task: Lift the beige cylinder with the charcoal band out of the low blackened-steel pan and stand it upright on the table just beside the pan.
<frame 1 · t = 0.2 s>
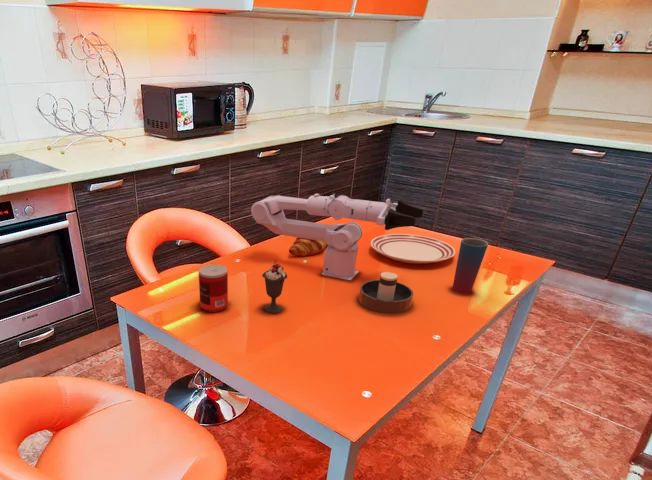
hand: (418, 217, 130), 21 cm above the table, tool horizontal, fingers open, 7 cm apart
pan: (384, 303, 134), on the table
croissant: (310, 251, 169), on the table
dinner plate: (410, 255, 165), on the table
beige cylinder: (384, 301, 133), resting on pan
canned food: (214, 306, 134), on the table
cup: (461, 291, 140), on the table
sundae: (273, 309, 132), on the table
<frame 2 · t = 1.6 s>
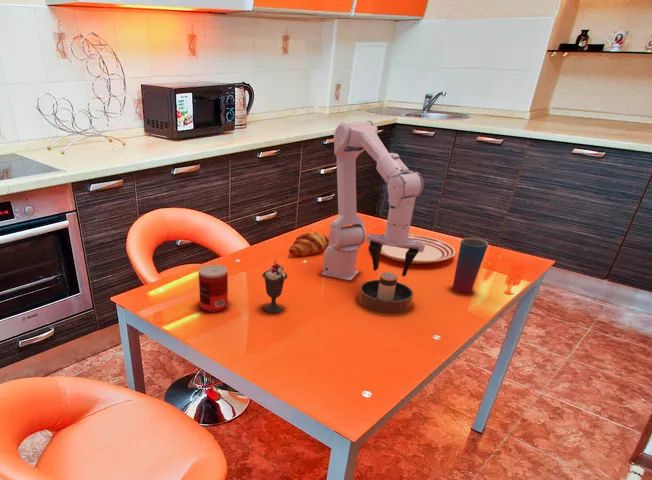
hand: (389, 272, 129), 9 cm above the table, tool pointing down, fingers open, 7 cm apart
nothing on the table moved.
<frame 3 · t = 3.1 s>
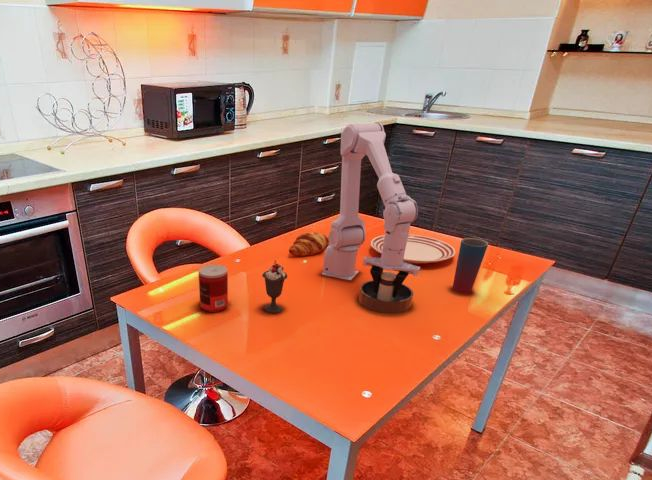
hand: (385, 293, 132), 3 cm above the table, tool pointing down, fingers closed on beige cylinder, 4 cm apart
beige cylinder: (384, 301, 133), point 1 cm above the table, touching gripper, pan
everything else where it was.
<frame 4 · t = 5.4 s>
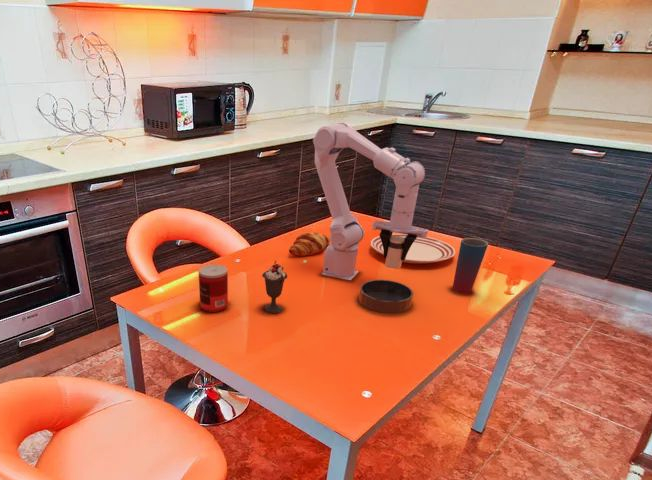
hand: (394, 257, 136), 10 cm above the table, tool pointing down, fingers closed on beige cylinder, 4 cm apart
beige cylinder: (393, 265, 138), point 7 cm above the table, touching gripper
everything else where it was.
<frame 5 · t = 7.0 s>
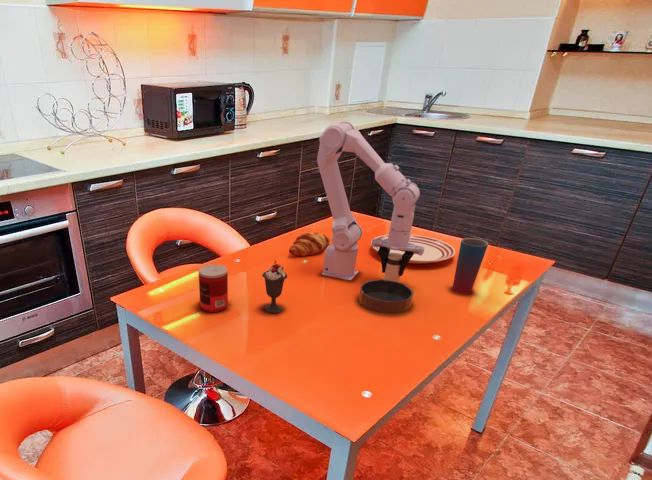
hand: (392, 273, 142), 4 cm above the table, tool pointing down, fingers closed on beige cylinder, 4 cm apart
beige cylinder: (391, 280, 143), point 1 cm above the table, touching gripper
everything else where it was.
when the fingers open (2 cm above the table, at t = 8.0 s): beige cylinder stays where it is, on the table.
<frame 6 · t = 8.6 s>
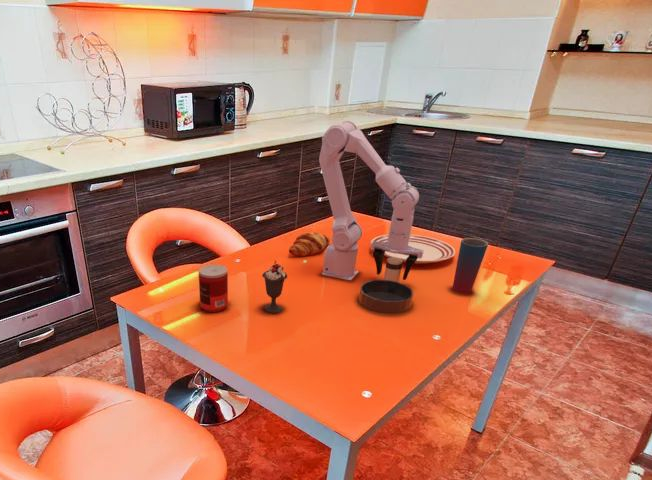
hand: (391, 276, 142), 3 cm above the table, tool pointing down, fingers open, 7 cm apart
beige cylinder: (390, 284, 144), on the table
everything else where it was.
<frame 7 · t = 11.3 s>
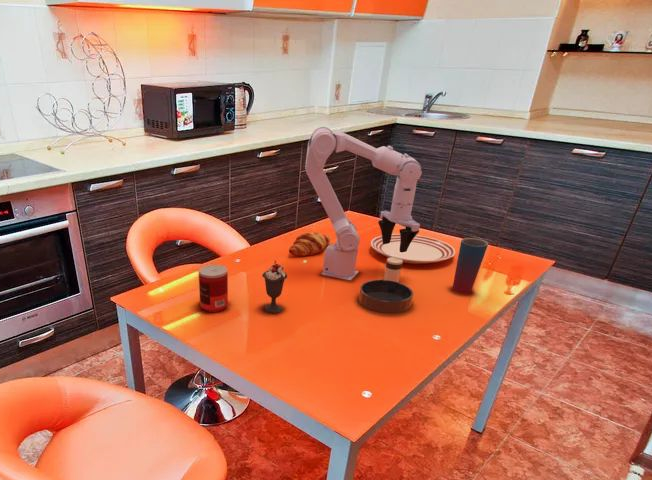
hand: (394, 247, 144), 9 cm above the table, tool pointing down, fingers open, 7 cm apart
nothing on the table moved.
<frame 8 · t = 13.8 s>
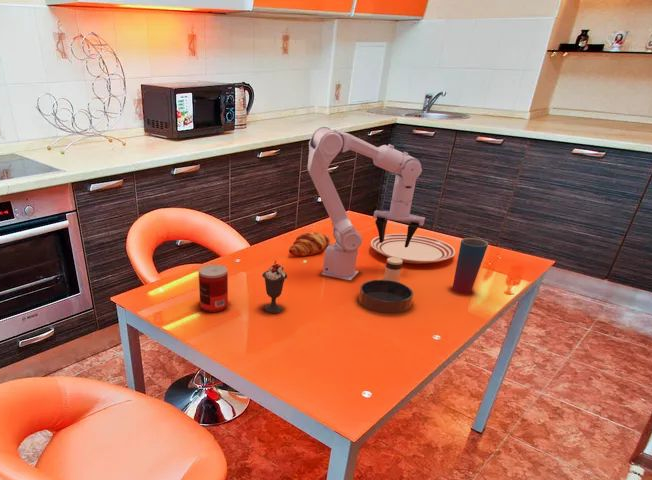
hand: (393, 244, 147), 9 cm above the table, tool pointing down, fingers open, 7 cm apart
nothing on the table moved.
at the end: beige cylinder inside the target area (0.1 cm from its centre), on the table; beige cylinder tilted 0°; beige cylinder touching table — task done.
